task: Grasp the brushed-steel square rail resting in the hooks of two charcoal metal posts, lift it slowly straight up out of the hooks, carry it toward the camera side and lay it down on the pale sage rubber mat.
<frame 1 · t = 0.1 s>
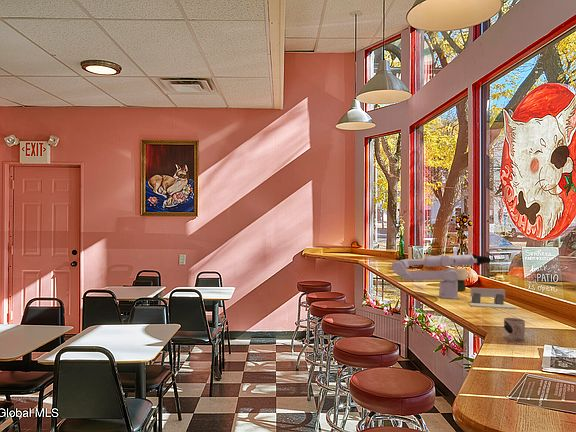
hand: (488, 259, 251), 22 cm above the counter, fingers open, 7 cm apart
mug: (516, 340, 165), on the counter
mat: (491, 306, 230), on the counter
rail: (487, 296, 238), point 3 cm above the counter, touching post left, post right
post right: (498, 304, 237), on the counter
post left: (476, 302, 239), on the counter
character mug: (460, 290, 282), on the counter
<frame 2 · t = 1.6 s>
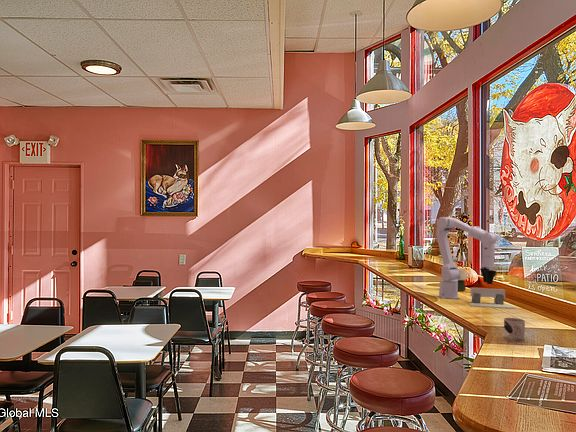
hand: (487, 283, 238), 10 cm above the counter, fingers open, 7 cm apart
nothing on the counter moved.
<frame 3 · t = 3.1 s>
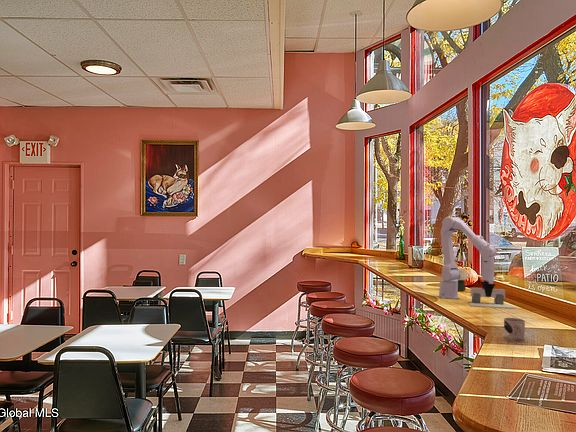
hand: (487, 296, 238), 4 cm above the counter, fingers closed on rail, 3 cm apart
rail: (487, 296, 238), point 3 cm above the counter, touching gripper, post left, post right
everything else where it was.
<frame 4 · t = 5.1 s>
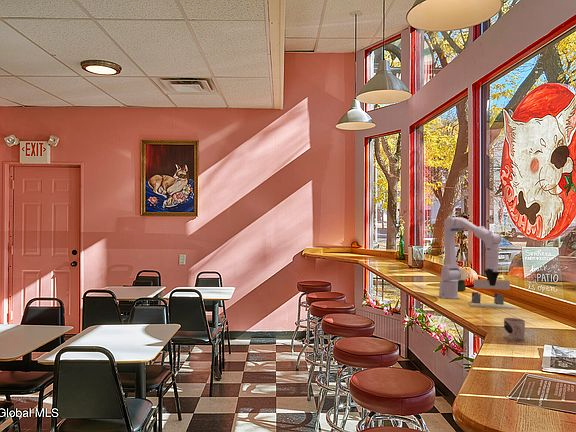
hand: (491, 285, 230), 10 cm above the counter, fingers closed on rail, 3 cm apart
rail: (491, 288, 230), point 9 cm above the counter, touching gripper
everything else where it was.
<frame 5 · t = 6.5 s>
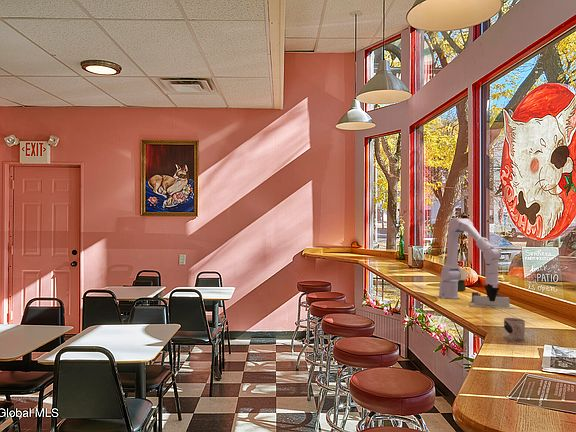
hand: (491, 300, 230), 3 cm above the counter, fingers closed on rail, 3 cm apart
rail: (491, 304, 230), point 1 cm above the counter, touching gripper
everything else where it was.
when the fingers open (2 cm above the counter, at t = 7.1 s): rail stays where it is, resting on mat.
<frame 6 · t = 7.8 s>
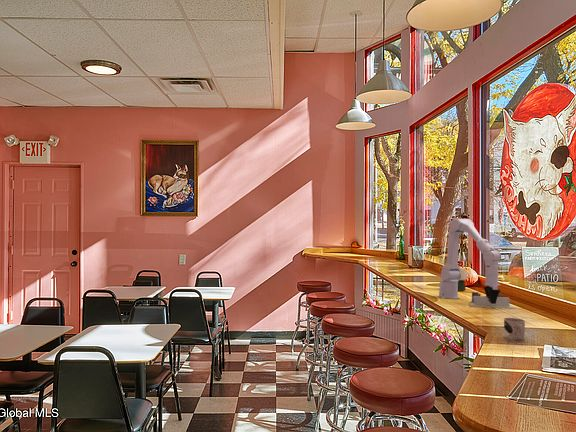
hand: (491, 302, 230), 2 cm above the counter, fingers open, 7 cm apart
rail: (491, 305, 230), point 1 cm above the counter, touching mat
everything else where it was.
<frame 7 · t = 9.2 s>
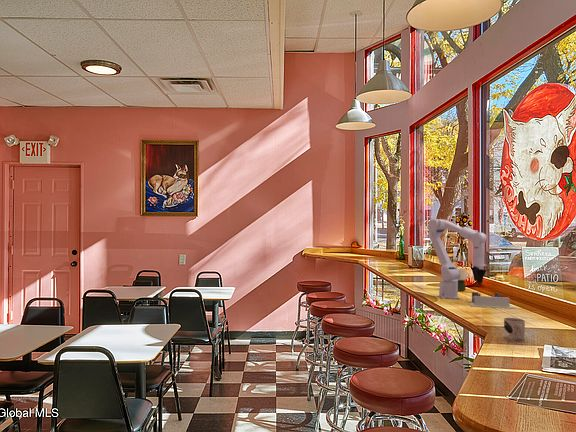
hand: (478, 281, 242), 10 cm above the counter, fingers open, 7 cm apart
nothing on the counter moved.
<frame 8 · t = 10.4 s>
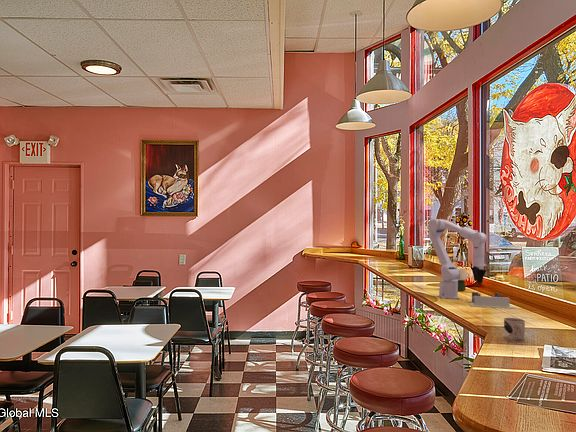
hand: (478, 281, 242), 10 cm above the counter, fingers open, 7 cm apart
nothing on the counter moved.
at the end: rail inside the target area on the mat (0.0 cm from its centre), point 0.6 cm above the mat's base; the gripper is holding nothing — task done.
